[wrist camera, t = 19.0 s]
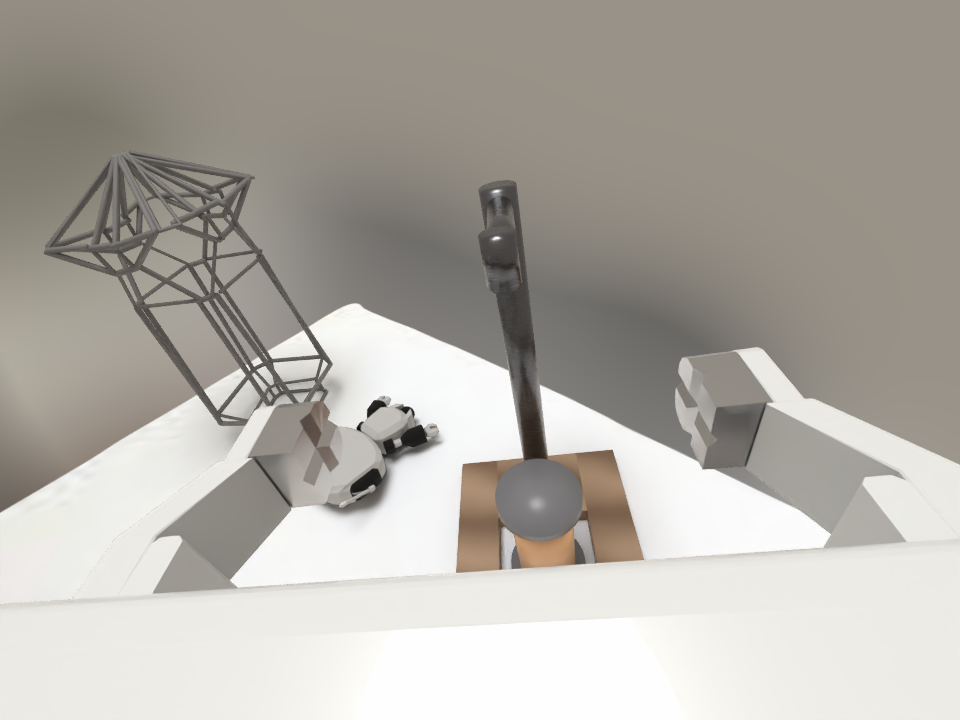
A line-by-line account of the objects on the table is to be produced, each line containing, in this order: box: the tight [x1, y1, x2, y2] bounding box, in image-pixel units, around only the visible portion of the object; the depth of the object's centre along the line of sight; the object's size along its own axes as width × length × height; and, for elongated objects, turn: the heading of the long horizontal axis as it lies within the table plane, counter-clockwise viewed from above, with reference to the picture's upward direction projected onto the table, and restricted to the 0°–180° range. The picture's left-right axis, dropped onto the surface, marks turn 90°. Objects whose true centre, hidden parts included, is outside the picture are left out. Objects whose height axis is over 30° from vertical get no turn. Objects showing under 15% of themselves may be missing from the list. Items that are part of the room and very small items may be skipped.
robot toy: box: [327, 396, 439, 508], centre depth 52 cm, size 12×4×15 cm
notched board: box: [456, 450, 644, 573], centre depth 41 cm, size 16×16×2 cm
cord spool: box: [495, 459, 585, 569], centre depth 36 cm, size 6×6×11 cm
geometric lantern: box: [44, 150, 333, 426], centre depth 52 cm, size 16×16×35 cm
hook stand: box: [478, 180, 548, 461], centre depth 32 cm, size 12×2×30 cm, turn 179°
